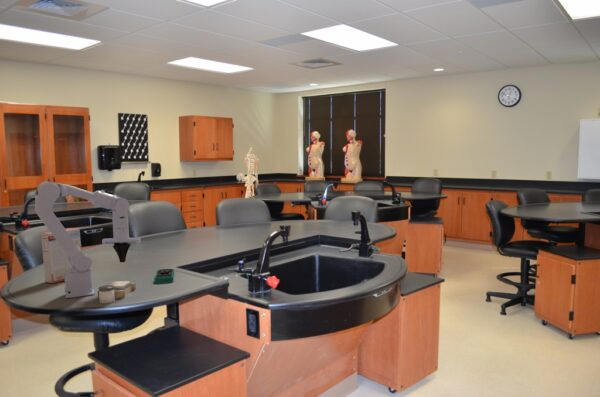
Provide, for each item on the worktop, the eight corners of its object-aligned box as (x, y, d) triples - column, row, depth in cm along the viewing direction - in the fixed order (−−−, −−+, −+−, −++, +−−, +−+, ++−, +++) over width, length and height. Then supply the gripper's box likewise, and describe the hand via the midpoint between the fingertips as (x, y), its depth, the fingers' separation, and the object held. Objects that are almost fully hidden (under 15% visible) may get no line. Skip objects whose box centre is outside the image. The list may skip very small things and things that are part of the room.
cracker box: (75, 274, 205) (72, 227, 203) (83, 276, 202) (80, 228, 200) (44, 282, 194) (40, 232, 192) (52, 284, 190) (48, 233, 188)
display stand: (98, 298, 170) (97, 291, 169) (111, 289, 181) (110, 283, 180) (124, 297, 169) (123, 291, 169) (135, 289, 180) (135, 282, 180)
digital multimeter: (174, 274, 204) (174, 267, 203) (173, 283, 189) (173, 276, 189) (157, 275, 202) (156, 269, 202) (154, 284, 188) (154, 277, 187)
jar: (99, 304, 162) (98, 289, 162) (99, 300, 167) (98, 286, 166) (115, 302, 164) (114, 287, 164) (114, 298, 169) (113, 284, 169)
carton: (105, 296, 172) (104, 285, 172) (113, 291, 179) (113, 281, 178) (123, 296, 172) (122, 286, 171) (131, 291, 178) (130, 281, 178)
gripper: (142, 225, 186) (144, 259, 187) (107, 226, 186) (109, 259, 188) (136, 228, 179) (137, 263, 180) (98, 229, 179) (101, 263, 181)
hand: (122, 261), depth 183 cm, fingers closed
